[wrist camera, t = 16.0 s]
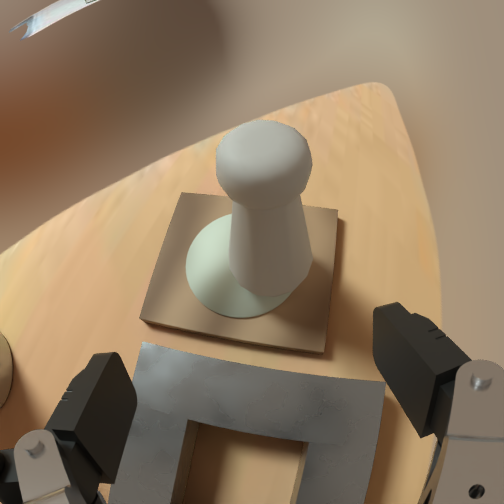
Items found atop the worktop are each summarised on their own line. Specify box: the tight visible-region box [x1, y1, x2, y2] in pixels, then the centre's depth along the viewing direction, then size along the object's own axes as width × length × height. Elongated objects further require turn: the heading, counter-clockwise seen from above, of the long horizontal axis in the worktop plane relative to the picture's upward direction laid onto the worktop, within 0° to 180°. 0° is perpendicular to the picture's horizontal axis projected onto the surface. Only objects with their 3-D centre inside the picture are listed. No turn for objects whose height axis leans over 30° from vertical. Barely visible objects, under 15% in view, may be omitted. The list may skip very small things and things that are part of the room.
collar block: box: [108, 342, 386, 504], centre depth 17 cm, size 16×16×4 cm
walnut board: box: [139, 192, 338, 354], centre depth 26 cm, size 14×12×1 cm
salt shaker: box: [216, 120, 313, 297], centre depth 19 cm, size 6×6×13 cm
